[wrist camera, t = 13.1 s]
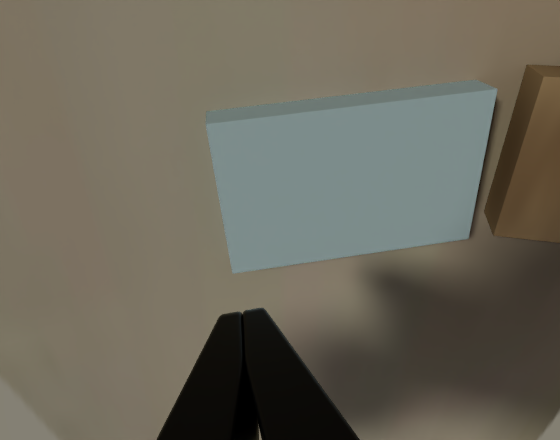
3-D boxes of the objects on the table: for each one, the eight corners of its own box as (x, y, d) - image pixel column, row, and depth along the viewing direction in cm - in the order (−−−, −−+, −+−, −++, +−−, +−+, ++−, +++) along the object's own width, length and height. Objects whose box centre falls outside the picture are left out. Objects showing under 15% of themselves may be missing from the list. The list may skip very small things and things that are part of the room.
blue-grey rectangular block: (205, 124, 11) (497, 89, 11) (206, 106, 12) (467, 76, 13) (232, 273, 13) (468, 238, 14) (230, 245, 15) (445, 214, 15)
